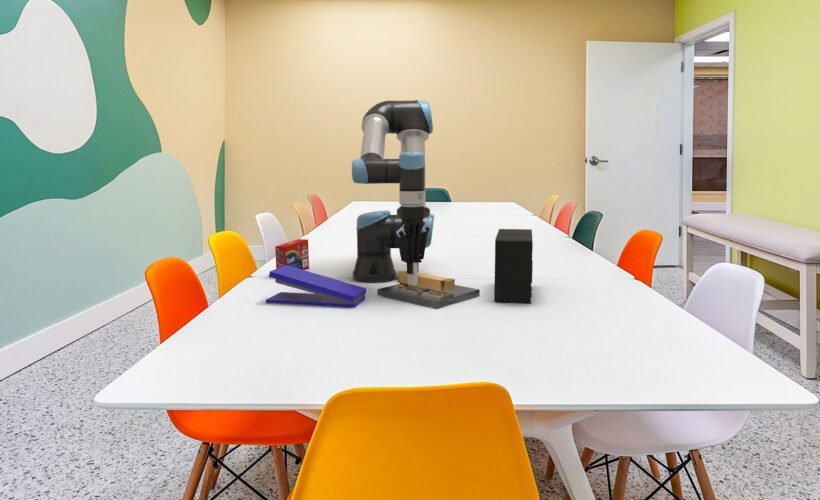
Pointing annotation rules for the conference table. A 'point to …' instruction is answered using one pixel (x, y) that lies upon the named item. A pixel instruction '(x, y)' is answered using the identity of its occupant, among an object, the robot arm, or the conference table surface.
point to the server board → (428, 295)
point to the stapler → (315, 289)
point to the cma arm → (429, 281)
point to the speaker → (513, 265)
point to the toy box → (293, 254)
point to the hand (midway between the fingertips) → (412, 283)
